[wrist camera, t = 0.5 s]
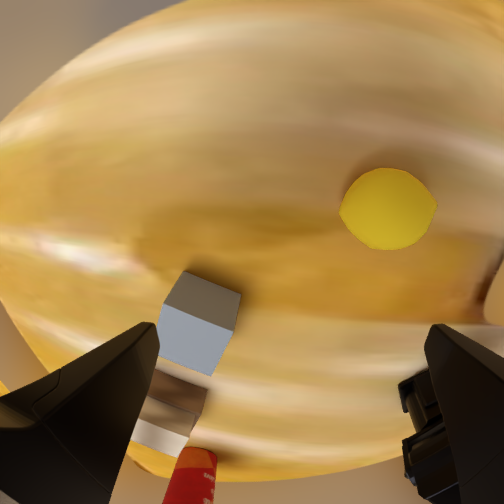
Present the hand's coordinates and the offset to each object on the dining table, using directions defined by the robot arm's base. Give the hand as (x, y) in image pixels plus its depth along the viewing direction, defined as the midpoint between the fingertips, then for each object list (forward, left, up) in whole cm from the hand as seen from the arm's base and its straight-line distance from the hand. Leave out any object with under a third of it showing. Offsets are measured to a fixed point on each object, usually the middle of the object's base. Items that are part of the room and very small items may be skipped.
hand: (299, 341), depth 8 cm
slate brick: (-4, +9, -13) cm, 17 cm away
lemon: (-1, -7, -14) cm, 15 cm away
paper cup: (-27, +26, -13) cm, 40 cm away
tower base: (-13, +20, -13) cm, 27 cm away
